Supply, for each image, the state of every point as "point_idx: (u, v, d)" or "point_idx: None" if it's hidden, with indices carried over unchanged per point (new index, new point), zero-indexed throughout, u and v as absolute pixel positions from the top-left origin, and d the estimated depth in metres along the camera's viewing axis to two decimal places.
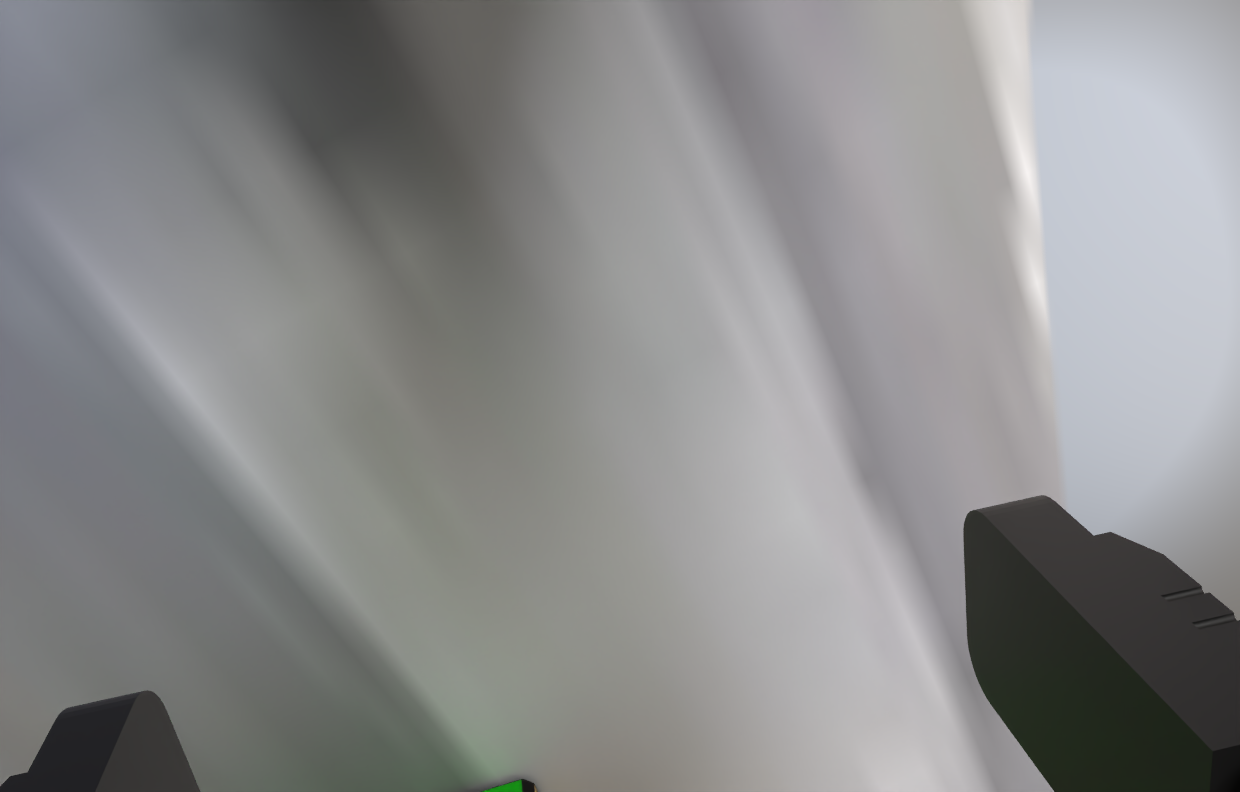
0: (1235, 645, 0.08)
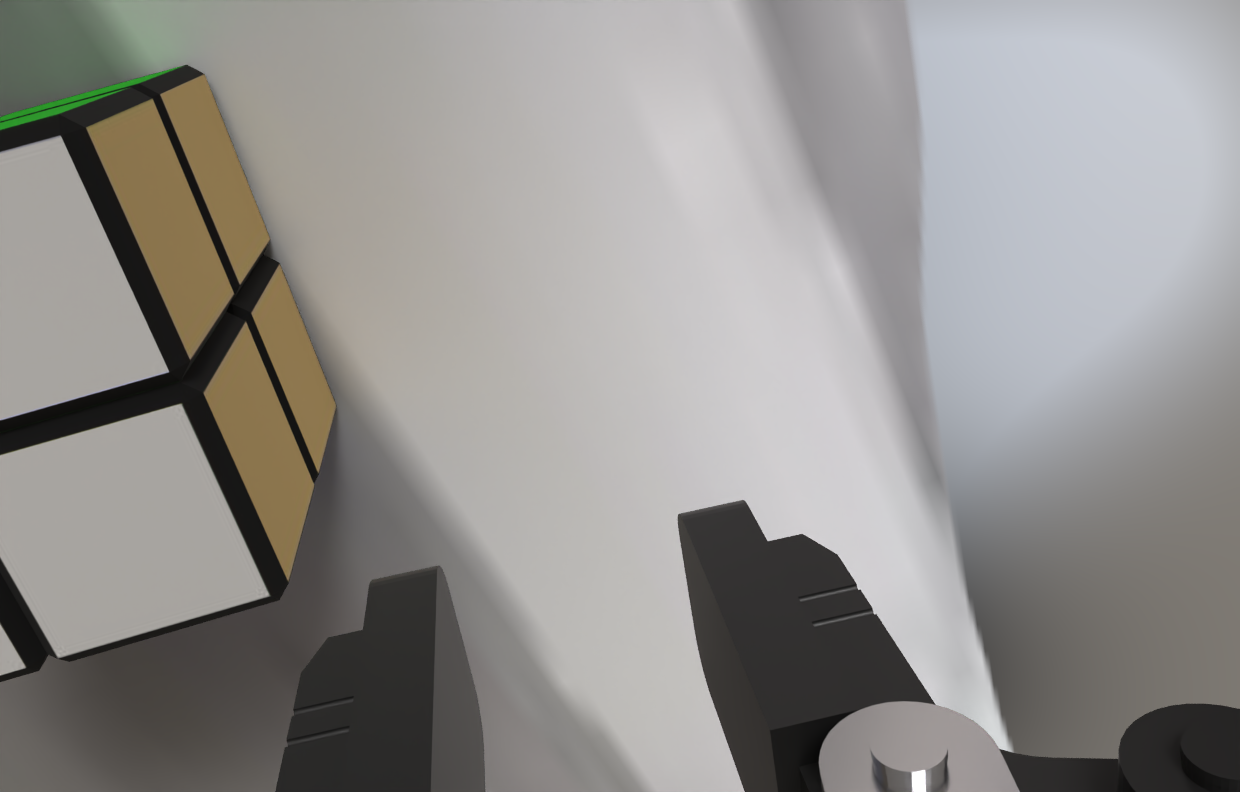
0: (860, 637, 0.09)
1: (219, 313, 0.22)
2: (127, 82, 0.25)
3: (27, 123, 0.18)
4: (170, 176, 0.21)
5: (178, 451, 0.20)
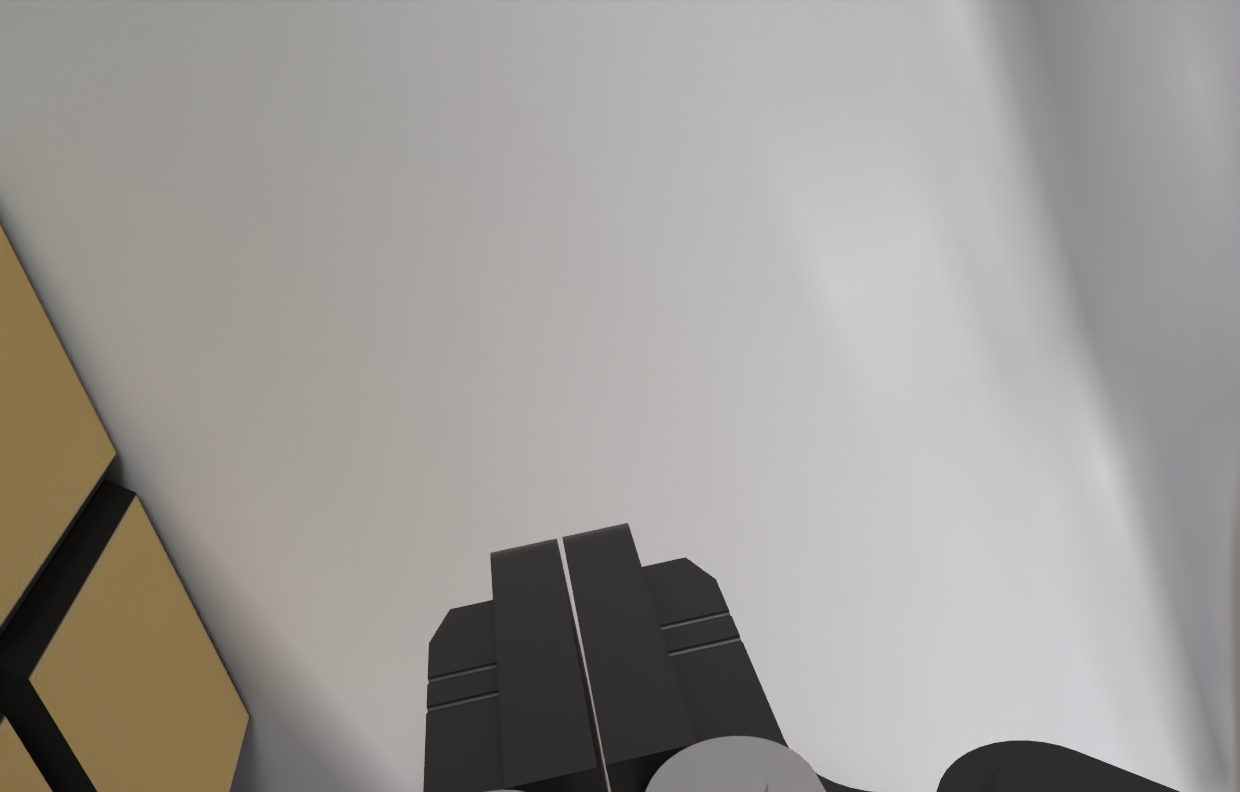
0: (722, 665, 0.09)
1: None
2: None
3: None
4: None
5: None
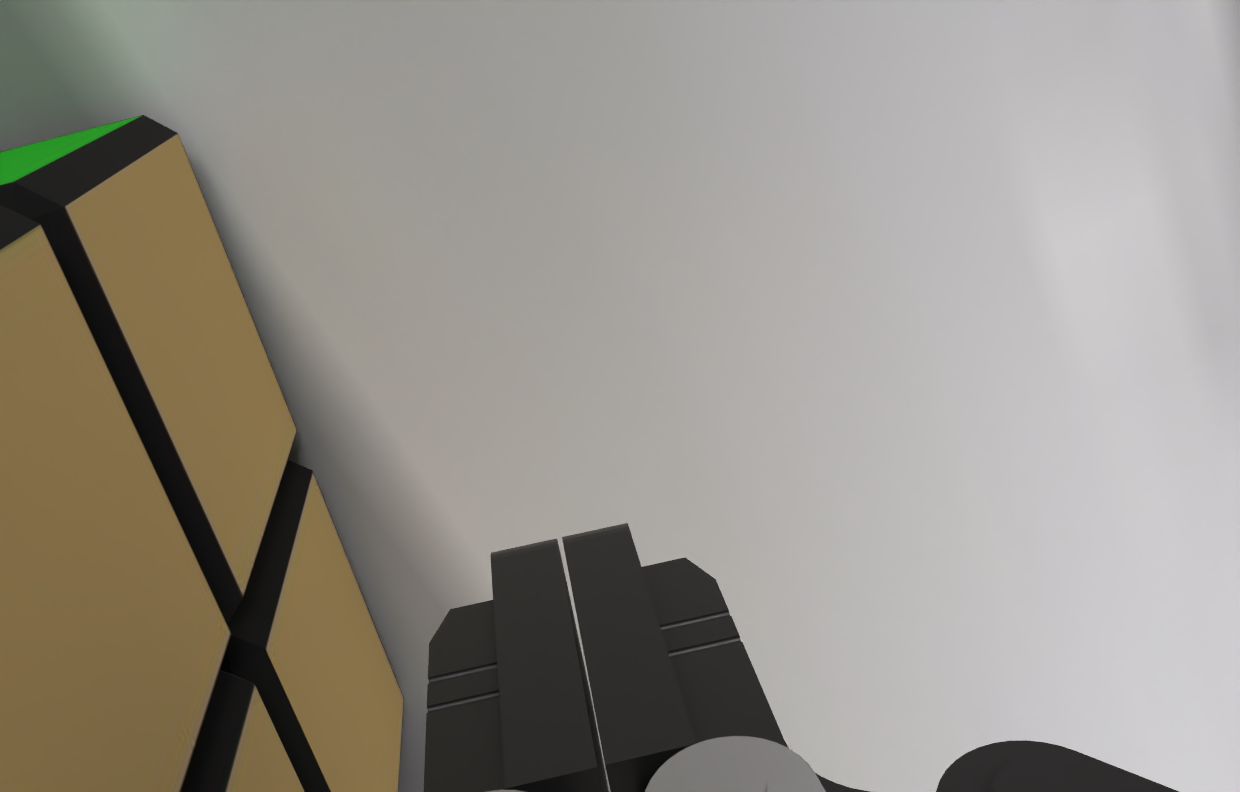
0: (722, 665, 0.09)
1: (195, 733, 0.09)
2: (17, 154, 0.12)
3: None
4: (78, 422, 0.09)
5: None
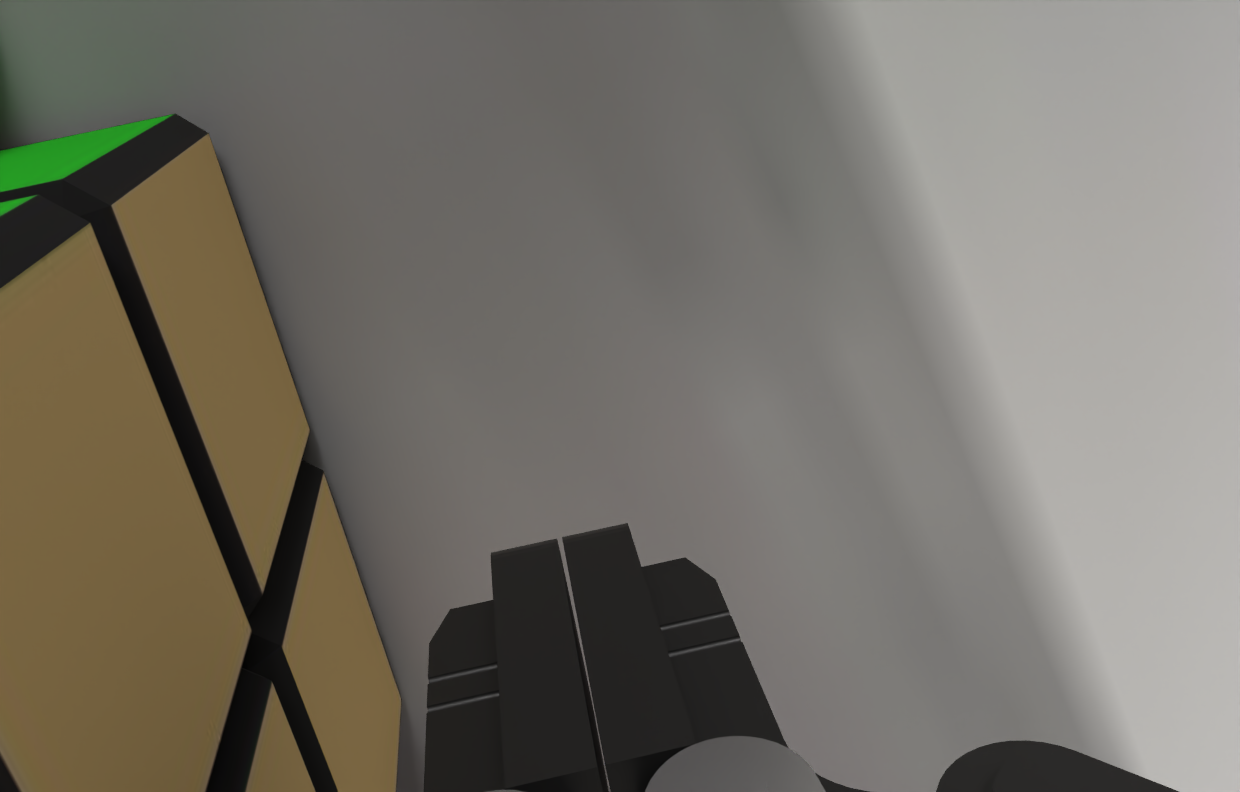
0: (722, 666, 0.09)
1: (221, 728, 0.09)
2: (52, 148, 0.12)
3: None
4: (122, 418, 0.09)
5: None
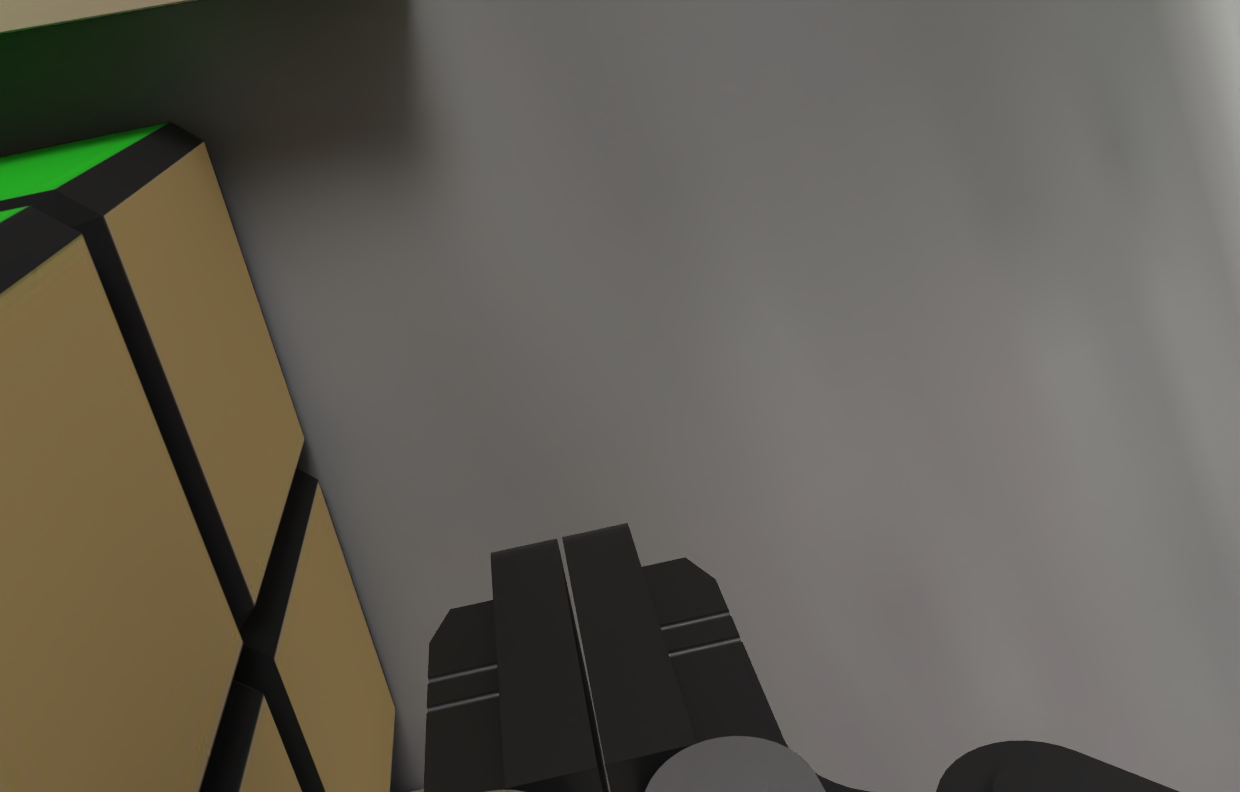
0: (722, 666, 0.09)
1: (211, 742, 0.09)
2: (46, 156, 0.12)
3: None
4: (112, 431, 0.09)
5: None
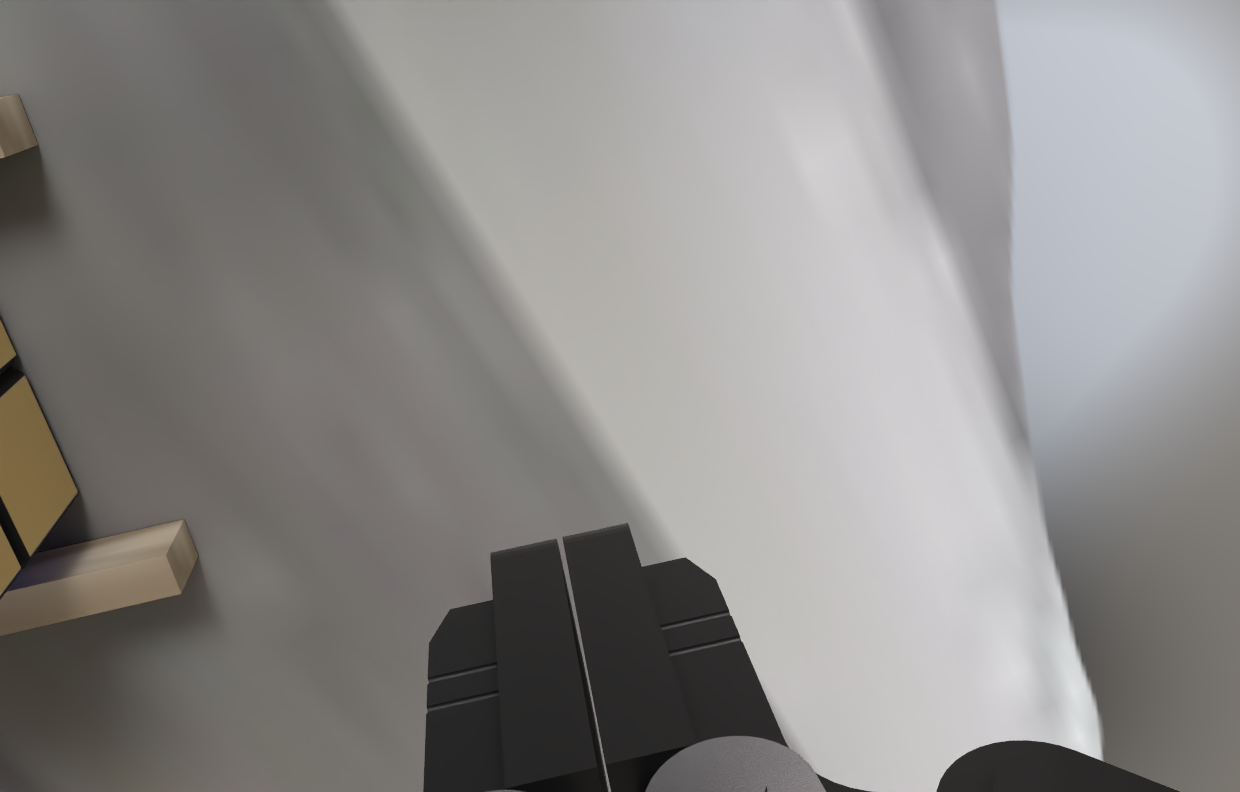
0: (722, 666, 0.09)
1: None
2: None
3: None
4: None
5: None
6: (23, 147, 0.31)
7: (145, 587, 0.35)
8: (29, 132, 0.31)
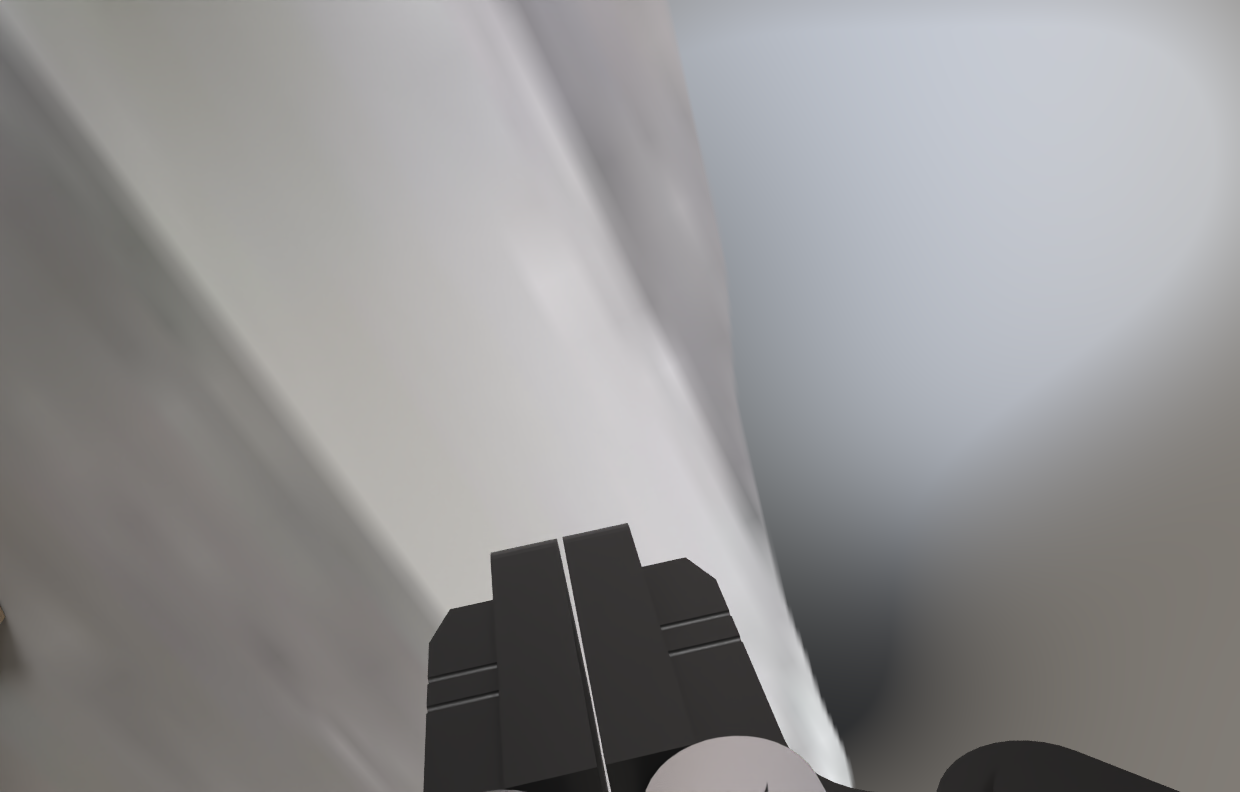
0: (722, 665, 0.09)
1: None
2: None
3: None
4: None
5: None
6: None
7: None
8: None
